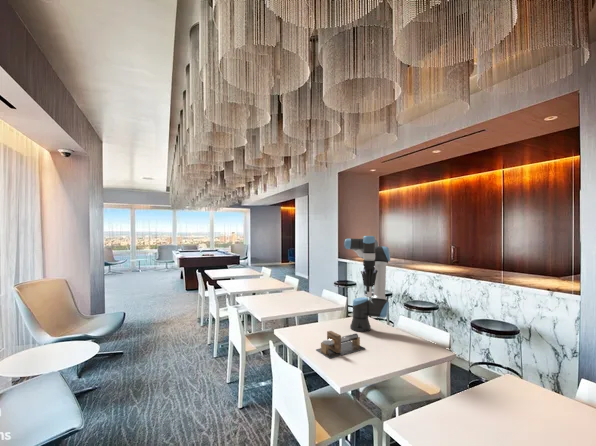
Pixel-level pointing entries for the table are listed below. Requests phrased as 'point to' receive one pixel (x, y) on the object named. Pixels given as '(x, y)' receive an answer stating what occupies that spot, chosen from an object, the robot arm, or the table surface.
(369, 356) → the table surface
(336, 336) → the collar
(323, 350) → the pipe rig
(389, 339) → the table surface
